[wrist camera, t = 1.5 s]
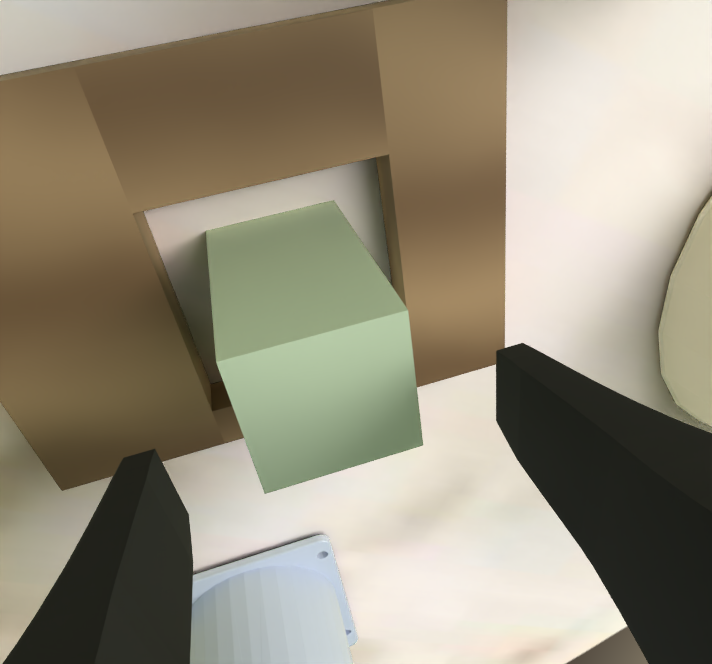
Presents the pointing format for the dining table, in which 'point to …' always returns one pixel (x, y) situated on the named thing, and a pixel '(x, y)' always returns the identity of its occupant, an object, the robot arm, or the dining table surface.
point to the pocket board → (227, 173)
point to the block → (310, 345)
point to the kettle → (690, 323)
